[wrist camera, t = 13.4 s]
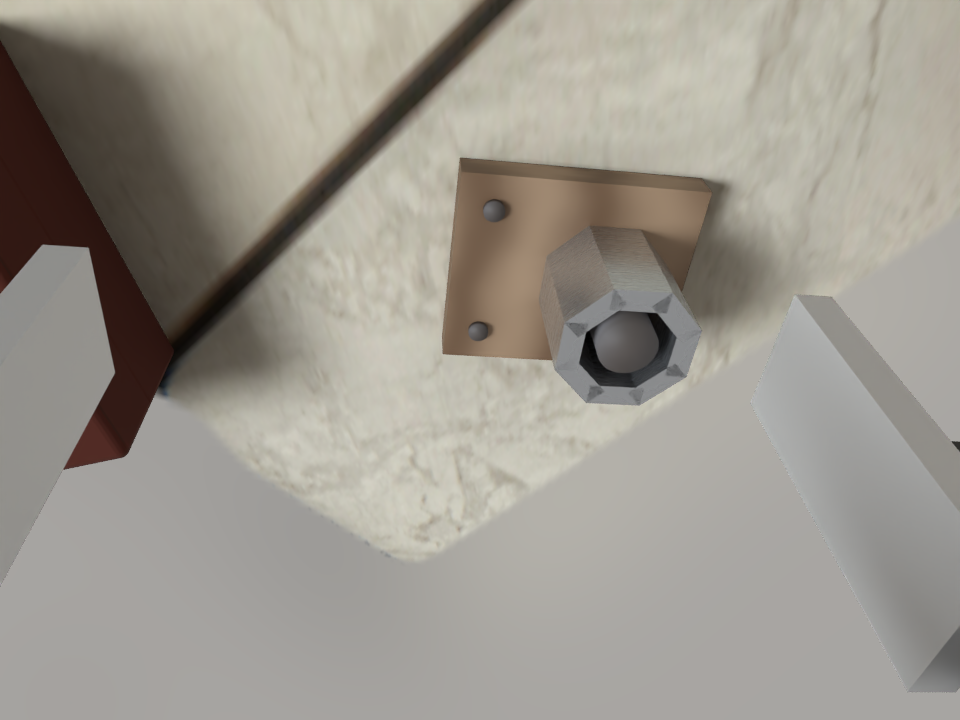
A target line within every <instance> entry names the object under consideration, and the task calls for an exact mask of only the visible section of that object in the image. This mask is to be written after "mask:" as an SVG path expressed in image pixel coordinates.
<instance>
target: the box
mask: <svg viewBox="0 0 960 720" xmlns="http://www.w3.org/2000/svg"><path fill="white" fill-rule="evenodd" d="M42 245H55V246H70V247H85V248H89V252H90V257H91V261H92V266H93V271H94V276H95V280H96V285H97V290H98V294H99V299H100V304H101V308H102V313H103V318H104V323H105V327H106V332H107V337H108V341H109V346H110V351H111V356H112V360H113V365H114V370H115V374H114V376H113V378H112V379H111V381H110V383H109V385H108V387H107V389H106V391H105V392H104V394H103V396H102V398H101V400H100V402H99V404H98V405H97V407H96V409H95V411H94V413H93V415H92V417H91V418H90V420H89V422H88V424H87V426H86V428H85V430H84V431H83V433H82V435H81V437H80V439H79V441H78V443H77V444H76V446H75V448H74V450H73V452H72V454H71V456H70V458H69V459H68V461H67V463H66V465H65V467H64V469H69V468H74V467H79V466H83V465H88V464H93V463H98V462H103V461H108V460H112V459H117V458H122V457H124V456H126V455H127V454H128V452H129V450H130V448H131V445H132V443H133V441H134V439H135V437H136V435H137V433H138V430H139V428H140V426H141V424H142V422H143V419H144V417H145V415H146V413H147V411H148V408H149V406H150V404H151V402H152V400H153V397H154V395H155V393H156V391H157V389H158V386H159V384H160V382H161V380H162V378H163V375H164V373H165V371H166V369H167V367H168V364H169V362H170V360H171V358H172V355H173V353H174V350H173V348H172V346H171V344H170V342H169V341H168V339H167V337H166V335H165V334H164V332H163V330H162V328H161V326H160V325H159V323H158V321H157V319H156V317H155V316H154V314H153V312H152V310H151V309H150V307H149V305H148V303H147V301H146V300H145V298H144V296H143V294H142V292H141V291H140V289H139V287H138V285H137V284H136V282H135V280H134V278H133V276H132V275H131V273H130V271H129V269H128V267H127V266H126V264H125V262H124V260H123V259H122V257H121V255H120V253H119V251H118V250H117V248H116V246H115V244H114V242H113V241H112V239H111V237H110V235H109V234H108V232H107V230H106V228H105V226H104V225H103V223H102V221H101V219H100V217H99V216H98V214H97V212H96V210H95V209H94V207H93V205H92V203H91V201H90V200H89V198H88V196H87V194H86V193H85V191H84V189H83V187H82V185H81V184H80V182H79V180H78V178H77V176H76V175H75V173H74V171H73V169H72V168H71V166H70V164H69V162H68V160H67V159H66V157H65V155H64V153H63V151H62V150H61V148H60V146H59V144H58V143H57V141H56V139H55V137H54V135H53V134H52V132H51V130H50V128H49V126H48V125H47V123H46V121H45V119H44V118H43V116H42V114H41V112H40V110H39V109H38V107H37V105H36V103H35V101H34V100H33V98H32V96H31V94H30V93H29V91H28V89H27V87H26V85H25V84H24V82H23V80H22V78H21V76H20V75H19V73H18V71H17V69H16V68H15V66H14V64H13V62H12V60H11V59H10V57H9V55H8V53H7V51H6V50H5V48H4V46H3V44H2V43H1V41H0V294H1V293H2V291H3V290H4V289H5V288H6V287H7V286H8V284H9V283H10V282H11V281H12V280H13V279H14V277H15V276H16V275H17V274H18V273H19V272H20V270H21V269H22V268H23V267H24V266H25V265H26V263H27V262H28V261H29V260H30V259H31V258H32V256H33V255H34V254H35V253H36V252H37V251H38V249H39V248H40V247H41V246H42Z"/></svg>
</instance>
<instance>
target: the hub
mask: <svg viewBox="0 0 960 720" xmlns="http://www.w3.org/2000/svg"><path fill="white" fill-rule="evenodd" d="M539 304H540V308H541V313H542V317H543V321H544V326H545V330H546V334H547V339H548V343H549V347H550V352H551V356H552V360H553V364H554V369H555V371H556V372H557V373H558V374H559V375H560V376H561V377H562V378H563V379H564V380H565V381H566V382H567V383H568V384H569V385H570V386H571V387H572V388H573V389H574V390H575V392H576V393H577V394H578V395H579V396H580V397H581V398H582V399H583V400H584V401H585V402H586V403H600V404H620V405H641V404H642V403H644V402H646V401H647V400H649V399H651V398H652V397H654V396H656V395H657V394H659V393H661V392H662V391H664V390H666V389H667V388H669V387H671V386H672V385H674V384H676V383H677V382H679V381H680V380H682V379H684V378H685V377H687V374H688V371H689V368H690V365H691V362H692V359H693V356H694V353H695V350H696V347H697V344H698V341H699V338H700V335H701V332H702V330H701V328H700V326H699V324H698V322H697V321H696V319H695V317H694V315H693V313H692V311H691V309H690V307H689V305H688V304H687V302H686V300H685V298H684V296H683V294H682V292H681V290H680V288H679V287H678V285H677V283H676V281H675V279H674V277H673V275H672V273H671V271H670V269H669V268H668V266H667V264H666V263H665V262H664V260H663V259H662V258H661V256H660V255H659V254H658V252H657V251H656V250H655V248H654V247H653V246H652V244H651V243H650V242H649V240H648V239H647V238H646V236H645V235H644V234H643V232H642V231H641V229H628V228H615V227H601V226H588V227H587V228H585V229H584V230H582V231H581V232H580V233H578V234H577V235H575V236H574V237H573V238H571V239H570V240H568V241H567V242H566V243H564V244H563V245H561V246H560V247H559V248H557V249H556V250H554V251H553V252H552V253H550V254H549V255H547V257H546V262H545V268H544V273H543V279H542V284H541V290H540V295H539ZM617 311H635V312H647V314H648V317H649V319H650V321H651V323H652V326H653V328H654V330H655V333H656V335H657V337H658V341H659V347H658V351H657V354H656V355H655V357H654V358H653V360H652V361H651V362H650V363H649V364H648V365H646V366H645V367H643V368H641V369H639V370H637V371H634V372H630V373H617V372H613V371H610V370H608V369H607V368H605V367H604V366H603V365H602V364H601V362H600V360H599V358H598V355H597V352H596V349H595V346H594V342H593V339H592V336H591V333H590V329H592V328H593V327H595V326H596V325H598V324H599V323H601V322H602V321H604V320H605V319H607V318H608V317H610V316H611V315H613V314H614V313H616V312H617Z"/></svg>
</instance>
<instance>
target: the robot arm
mask: <svg viewBox="0 0 960 720" xmlns="http://www.w3.org/2000/svg"><path fill="white" fill-rule="evenodd" d="M114 374H115V370H114V365H113V360H112V356H111V351H110V346H109V341H108V337H107V332H106V327H105V323H104V318H103V313H102V308H101V304H100V299H99V294H98V290H97V285H96V280H95V276H94V271H93V266H92V261H91V257H90V252H89V248H85V247H70V246H55V245H42V246H41V247H40V248H39V249H38V251H37V252H36V253H35V254H34V255H33V256H32V258H31V259H30V260H29V261H28V262H27V263H26V265H25V266H24V267H23V268H22V269H21V270H20V272H19V273H18V274H17V275H16V276H15V277H14V279H13V280H12V281H11V282H10V283H9V284H8V286H7V287H6V288H5V289H4V290H3V291H2V293H1V294H0V585H1V584H2V582H3V580H4V578H5V577H6V575H7V573H8V571H9V569H10V567H11V565H12V563H13V562H14V560H15V558H16V556H17V554H18V552H19V550H20V549H21V547H22V545H23V543H24V541H25V539H26V537H27V536H28V534H29V532H30V530H31V528H32V526H33V524H34V523H35V520H36V519H37V517H38V515H39V513H40V511H41V510H42V508H43V506H44V504H45V502H46V500H47V498H48V497H49V495H50V493H51V491H52V489H53V487H54V485H55V484H56V482H57V480H58V478H59V476H60V474H61V472H62V470H63V469H64V467H65V465H66V463H67V461H68V459H69V458H70V456H71V454H72V452H73V450H74V448H75V446H76V444H77V443H78V441H79V439H80V437H81V435H82V433H83V431H84V430H85V428H86V426H87V424H88V422H89V420H90V418H91V417H92V415H93V413H94V411H95V409H96V407H97V405H98V404H99V402H100V400H101V398H102V396H103V394H104V392H105V391H106V389H107V387H108V385H109V383H110V381H111V379H112V378H113V376H114ZM750 404H751V406H752V408H753V409H754V411H755V413H756V415H757V417H758V418H759V420H760V422H761V424H762V426H763V428H764V430H765V431H766V433H767V435H768V437H769V439H770V441H771V442H772V444H773V446H774V448H775V450H776V452H777V454H778V455H779V457H780V459H781V461H782V463H783V465H784V466H785V468H786V470H787V472H788V474H789V476H790V477H791V479H792V481H793V483H794V485H795V487H796V488H797V490H798V492H799V494H800V496H801V498H802V499H803V501H804V503H805V505H806V507H807V509H808V510H809V512H810V514H811V516H812V518H813V520H814V522H815V523H816V525H817V527H818V529H819V531H820V533H821V534H822V536H823V538H824V540H825V541H826V543H827V545H828V547H829V549H830V551H831V553H832V554H833V556H834V558H835V560H836V562H837V564H838V565H839V567H840V569H841V571H842V573H843V575H844V577H845V578H846V580H847V582H848V584H849V586H850V588H851V589H852V591H853V593H854V595H855V597H856V599H857V601H858V602H859V604H860V606H861V608H862V610H863V612H864V613H865V615H866V617H867V619H868V621H869V623H870V624H871V626H872V628H873V630H874V632H875V634H876V635H877V637H878V639H879V641H880V643H881V644H882V647H883V648H884V650H885V652H886V654H887V655H888V658H889V659H890V661H891V662H892V665H893V667H894V669H895V670H896V672H897V674H898V676H899V678H900V680H901V681H902V683H903V685H904V687H905V689H906V690H907V692H956V691H957V690H958V689H959V688H960V442H953V441H950V439H949V438H948V437H947V436H946V435H945V433H944V432H943V431H942V430H941V429H940V427H939V426H938V425H937V424H936V423H935V421H934V420H933V419H932V418H931V416H930V415H929V414H928V413H927V412H926V410H925V409H924V408H923V407H922V406H921V404H920V403H919V402H918V401H917V400H916V398H915V397H914V396H913V395H912V394H911V392H910V391H909V390H908V389H907V387H906V386H905V385H904V384H903V383H902V381H901V380H900V379H899V378H898V376H897V375H896V374H895V373H894V372H893V370H892V369H891V368H890V367H889V366H888V364H887V363H886V362H885V361H884V360H883V358H882V357H881V356H880V355H879V353H878V352H877V351H876V350H875V349H874V348H873V346H872V345H871V344H870V343H869V341H868V340H867V339H866V338H865V337H864V335H863V334H862V333H861V332H860V330H859V329H858V328H857V327H856V326H855V324H854V323H853V322H852V321H851V320H850V318H849V317H848V316H847V315H846V314H845V312H844V311H843V310H842V309H841V307H840V306H839V305H838V304H837V303H836V301H835V300H834V299H833V298H832V297H828V296H812V295H797V294H795V295H794V298H793V300H792V302H791V305H790V307H789V310H788V312H787V315H786V317H785V320H784V322H783V325H782V327H781V329H780V332H779V334H778V337H777V339H776V342H775V344H774V347H773V349H772V352H771V354H770V356H769V359H768V361H767V364H766V366H765V369H764V371H763V373H762V376H761V378H760V381H759V384H758V386H757V388H756V391H755V393H754V396H753V398H752V400H751V403H750Z"/></svg>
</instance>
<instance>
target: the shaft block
mask: <svg viewBox="0 0 960 720" xmlns="http://www.w3.org/2000/svg"><path fill="white" fill-rule="evenodd" d="M711 195H712V192H711V190H710V189H709V188H708V186H707V185H706V184H705V182H704V181H703V180H702V178H690V177H679V176H667V175H655V174H643V173H632V172H620V171H608V170H596V169H585V168H573V167H561V166H549V165H538V164H526V163H514V162H502V161H491V160H479V159H467V158H460V162H459V172H458V182H457V192H456V202H455V212H454V222H453V232H452V242H451V252H450V262H449V272H448V282H447V293H446V303H445V313H444V323H443V333H442V346H443V354H449V355H467V356H485V357H503V358H521V359H539V360H552V356H551V352H550V347H549V343H548V339H547V334H546V330H545V326H544V321H543V317H542V313H541V308H540V304H539V295H540V290H541V284H542V279H543V273H544V268H545V262H546V257H547V255H549V254H550V253H552V252H553V251H554V250H556V249H557V248H559V247H560V246H561V245H563V244H564V243H566V242H567V241H568V240H570V239H571V238H573V237H574V236H575V235H577V234H578V233H580V232H581V231H582V230H584V229H585V228H587V227H588V226H601V227H615V228H628V229H641V231H642V232H643V234H644V235H645V236H646V238H647V239H648V240H649V242H650V243H651V244H652V246H653V247H654V248H655V250H656V251H657V252H658V254H659V255H660V256H661V258H662V259H663V260H664V262H665V263H666V264H667V266H668V268H669V269H670V271H671V273H672V275H673V277H674V279H675V281H676V283H677V285H678V287H679V288H680V290H681V292H682V289H683V286H684V283H685V280H686V276H687V273H688V270H689V267H690V263H691V260H692V257H693V254H694V250H695V247H696V244H697V241H698V237H699V234H700V231H701V228H702V224H703V221H704V218H705V215H706V211H707V208H708V205H709V202H710V198H711ZM590 333H591V336H592V339H593V342H594V346H595V349H596V352H597V355H598V358H599V360H600V362H601V364H602V365H603V366H604V367H605V368H607V369H608V370H610V371H613V372H617V373H630V372H634V371H637V370H639V369H641V368H643V367H645V366H646V365H648V364H649V363H650V362H651V361H652V360H653V358H654V357H655V355H656V354H657V351H658V347H659V341H658V337H657V335H656V333H655V330H654V328H653V326H652V323H651V321H650V319H649V317H648V314H647V312H635V311H617V312H616V313H614V314H613V315H611V316H610V317H608V318H607V319H605V320H604V321H602V322H601V323H599V324H598V325H596V326H595V327H593V328H592V329H590Z"/></svg>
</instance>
